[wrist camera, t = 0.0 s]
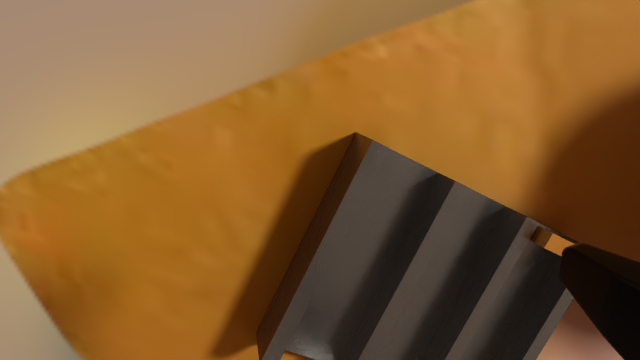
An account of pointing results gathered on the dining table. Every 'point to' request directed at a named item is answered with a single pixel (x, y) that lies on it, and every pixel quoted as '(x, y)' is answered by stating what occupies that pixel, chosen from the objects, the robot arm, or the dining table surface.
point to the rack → (415, 271)
